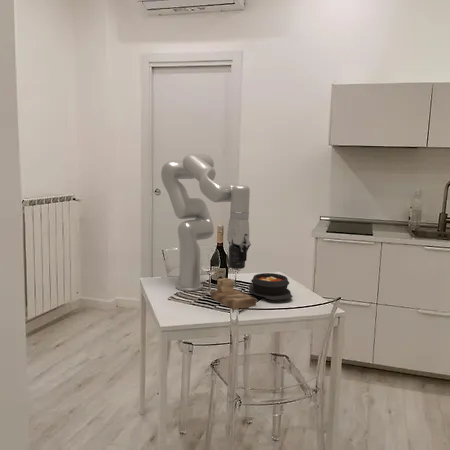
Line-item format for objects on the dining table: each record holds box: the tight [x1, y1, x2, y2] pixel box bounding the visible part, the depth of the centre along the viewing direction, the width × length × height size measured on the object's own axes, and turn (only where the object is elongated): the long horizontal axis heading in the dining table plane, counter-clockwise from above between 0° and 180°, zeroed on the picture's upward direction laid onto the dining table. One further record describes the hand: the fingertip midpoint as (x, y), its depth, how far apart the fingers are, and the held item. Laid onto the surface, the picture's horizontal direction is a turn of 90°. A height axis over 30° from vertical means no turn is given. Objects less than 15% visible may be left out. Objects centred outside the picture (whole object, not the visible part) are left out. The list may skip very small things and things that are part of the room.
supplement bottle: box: [228, 239, 246, 270], centre depth 191 cm, size 7×7×12 cm
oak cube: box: [216, 277, 235, 293], centre depth 203 cm, size 5×5×5 cm
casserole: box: [248, 272, 293, 301], centre depth 209 cm, size 25×19×8 cm
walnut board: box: [210, 288, 257, 310], centre depth 198 cm, size 18×11×3 cm, turn 33°
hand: (237, 258), depth 192 cm, fingers closed on supplement bottle, 6 cm apart
